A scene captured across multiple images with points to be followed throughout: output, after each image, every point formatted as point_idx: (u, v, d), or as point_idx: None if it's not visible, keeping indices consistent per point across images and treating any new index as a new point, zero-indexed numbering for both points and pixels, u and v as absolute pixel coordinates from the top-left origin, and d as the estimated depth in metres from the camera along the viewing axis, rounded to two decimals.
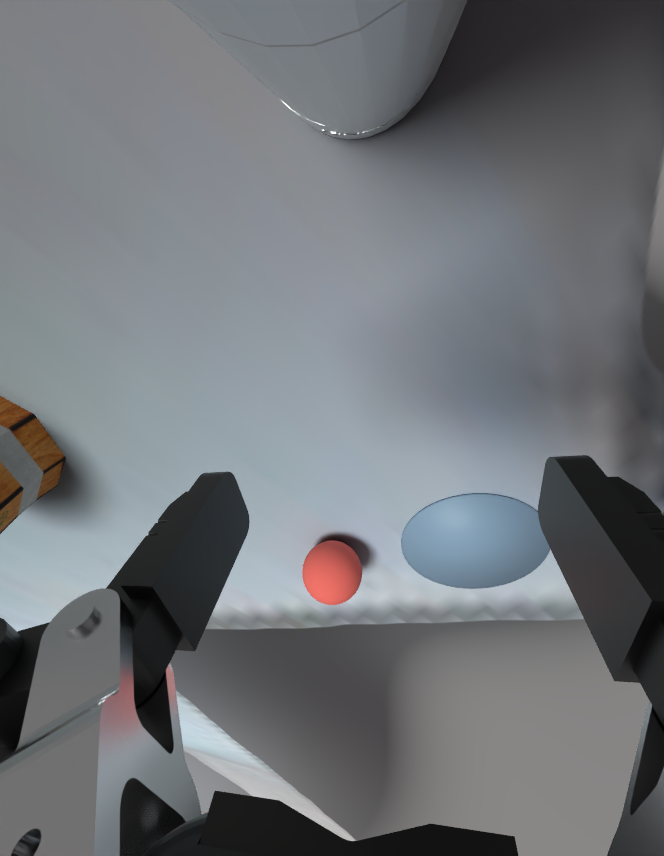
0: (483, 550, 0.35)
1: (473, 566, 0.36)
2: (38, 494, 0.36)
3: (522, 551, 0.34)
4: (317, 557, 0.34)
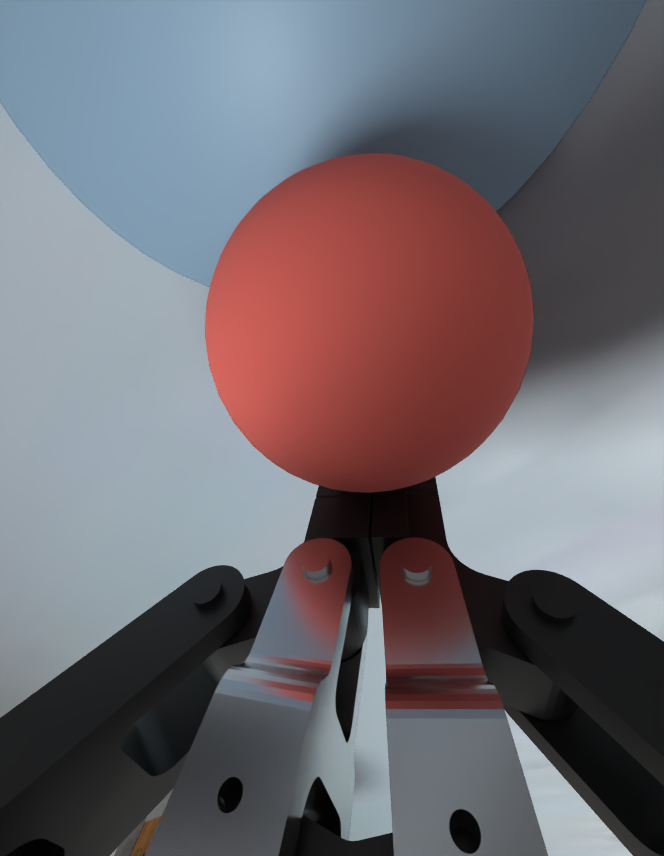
0: None
1: None
2: None
3: None
4: None
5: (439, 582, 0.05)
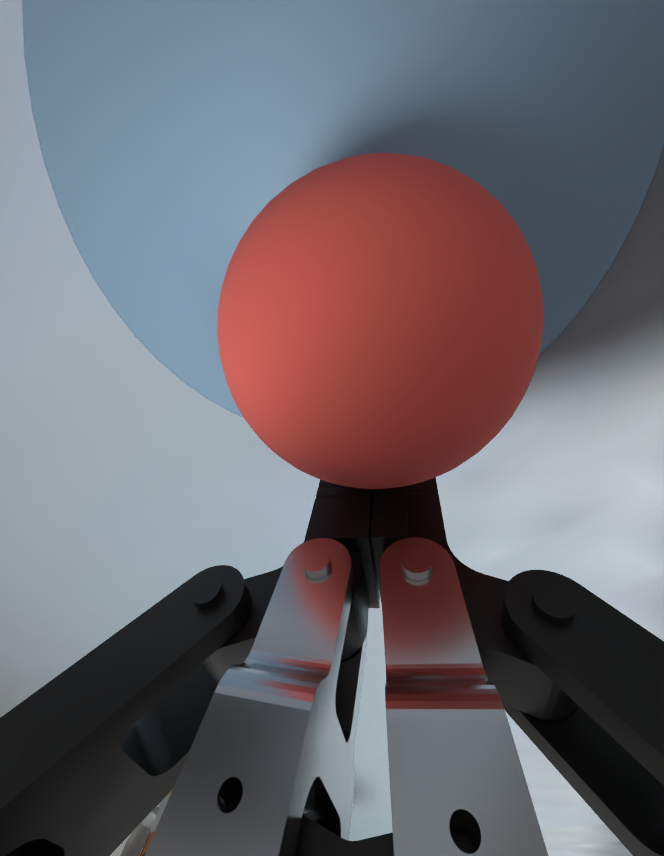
0: (345, 126, 0.08)
1: (465, 151, 0.08)
2: None
3: None
4: (217, 331, 0.06)
5: (439, 582, 0.05)
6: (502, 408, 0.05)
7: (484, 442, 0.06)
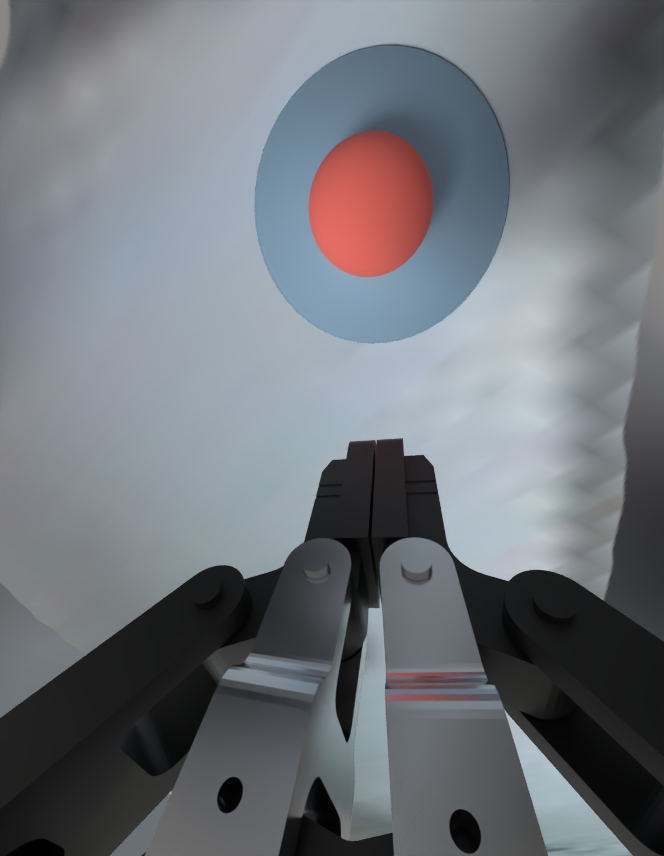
0: None
1: None
2: None
3: (381, 112, 0.17)
4: None
5: (439, 582, 0.05)
6: (392, 150, 0.14)
7: (386, 162, 0.14)
